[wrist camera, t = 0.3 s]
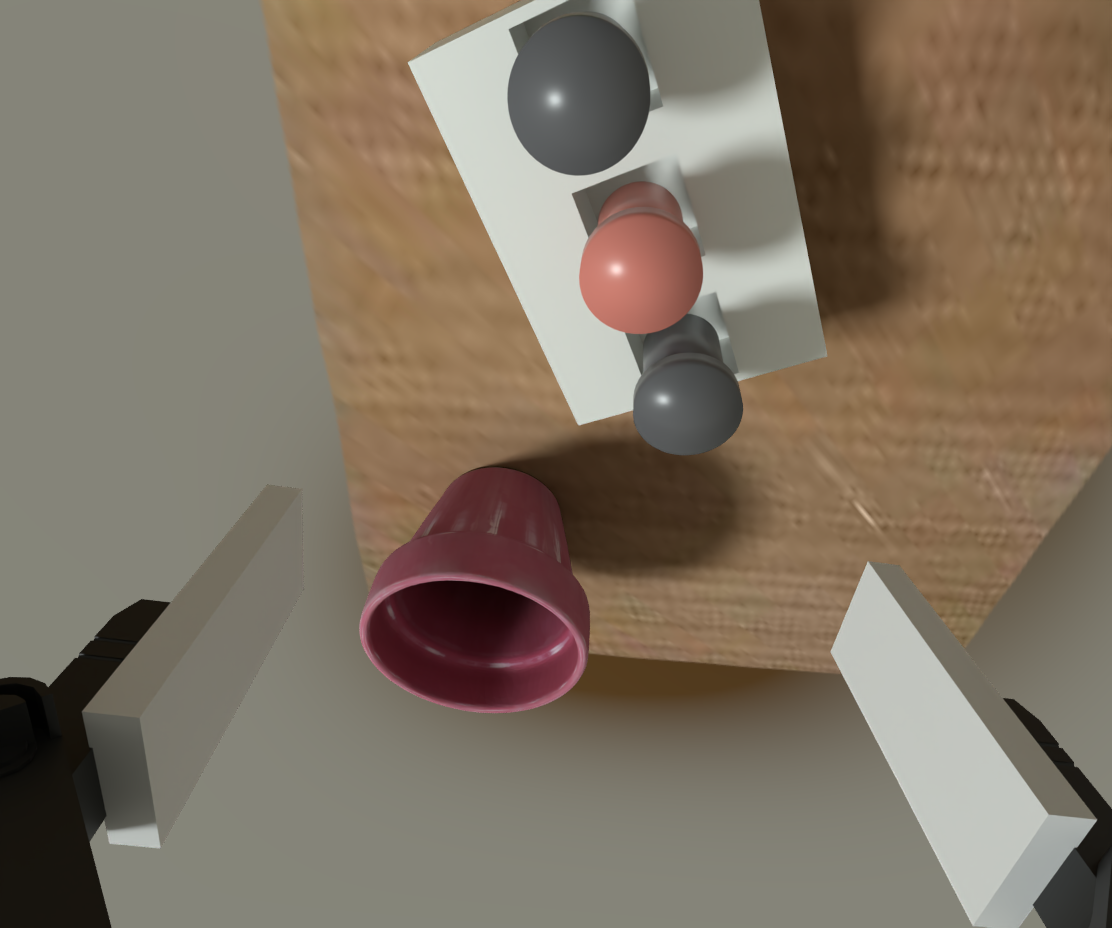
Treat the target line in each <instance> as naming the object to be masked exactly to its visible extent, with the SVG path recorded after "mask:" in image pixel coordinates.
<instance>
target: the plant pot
mask: <svg viewBox="0 0 1112 928" xmlns="http://www.w3.org/2000/svg"><path fill="white" fill-rule="evenodd" d="M589 635H590V610H589V604H588V600H587V597H586V594H585V592H584V590H583V588H582V587H581V585H580V583H579V582H578V580H577V579H576V578H575V577H574V576H573V573H572V568H571V563H570V557H569V552H568V546H567V541H566V536H565V531H564V527H563V522H562V517H561V512H560V508H559V505H558V502H557V500H556V499H555V497H554V495H553V494H552V492H551V491H550V490H549V489H548V488H547V487H546V486H545V485H544V484H543V483H541V482H540V481H538V480H537V479H535V478H533V477H532V476H530V475H527V474H525V473H523V472H520V471H516V470H512V469H507V468H498V467H490V468H482V469H477V470H473V471H470V472H468V473H466V474H463V475H462V476H460V477H458V478H457V479H456V480H455V481H454V482H452V483H451V484H450V485H449V487H448V488H447V490H446V491H445V492H444V494H443V495H442V497H441V498H440V500H439V501H438V502H437V504H436V505H435V506H434V508H433V509H432V510H431V512H430V513H429V515H428V516H427V518H426V519H425V520H424V522H423V523H422V525H421V526H420V528H419V529H418V530H417V532H416V533H415V535H414V536H413V538H412V539H411V541H410V542H408V543H406V544H404V545H402V546H401V547H399V548H398V549H396V550H395V551H394V552H393V553H392V554H391V555H390V556H389V557H388V558H387V559H386V560H385V561H384V562H383V564H382V565H381V567H380V569H379V571H378V573H377V575H376V577H375V579H374V582H373V584H372V587H371V590H370V592H369V595H368V598H367V600H366V603H365V606H364V609H363V612H362V615H361V619H360V637H361V642H362V645H363V648H364V650H365V652H366V653H367V655H368V657H369V659H370V660H371V661H372V663H373V664H374V665H375V666H376V667H377V668H378V670H380V671H381V672H382V673H383V674H384V675H385V676H386V677H387V678H388V679H390V680H391V681H392V682H394V683H395V684H397V685H398V686H400V687H401V688H403V689H405V690H406V691H408V692H411V693H412V694H414V695H416V696H418V697H421V698H423V699H425V700H428V701H431V702H434V703H437V704H439V705H443V706H447V707H451V708H455V709H460V710H465V711H472V712H481V713H507V712H516V711H523V710H527V709H532V708H536V707H539V706H542V705H545V704H547V703H550V702H551V701H554V700H556V699H557V698H559V697H561V696H562V695H564V694H565V693H566V692H568V691H569V690H570V689H571V688H572V687H573V686H574V685H575V684H576V683H577V682H578V680H579V679H580V677H581V676H582V674H583V672H584V670H585V668H586V665H587V659H588V652H589Z"/></svg>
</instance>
